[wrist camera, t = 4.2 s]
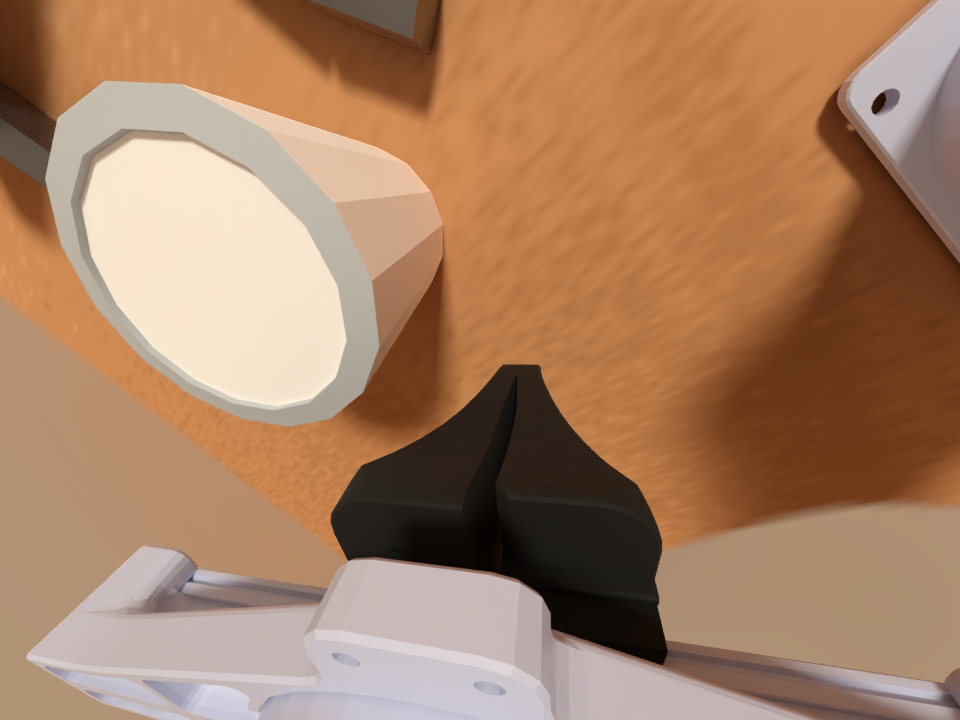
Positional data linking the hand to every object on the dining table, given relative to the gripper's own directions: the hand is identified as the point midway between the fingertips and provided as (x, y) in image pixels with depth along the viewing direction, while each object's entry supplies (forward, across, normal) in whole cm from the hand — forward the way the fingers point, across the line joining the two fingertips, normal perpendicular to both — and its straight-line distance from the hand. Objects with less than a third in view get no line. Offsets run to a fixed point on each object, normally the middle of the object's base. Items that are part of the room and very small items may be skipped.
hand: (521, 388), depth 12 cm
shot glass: (+2, +6, -5) cm, 8 cm away
